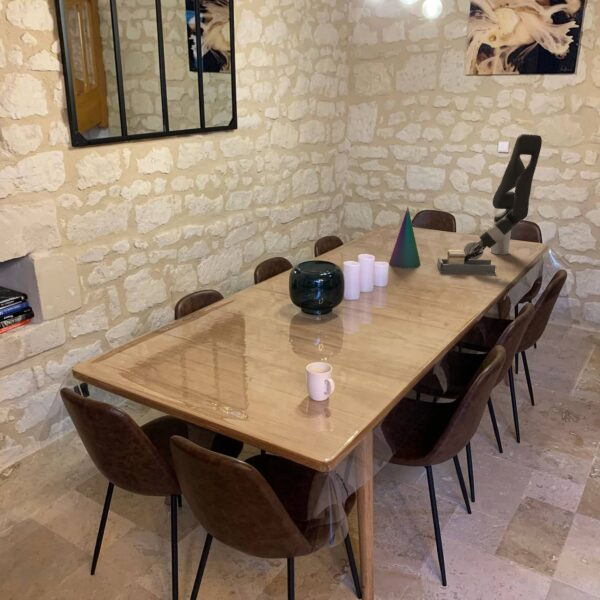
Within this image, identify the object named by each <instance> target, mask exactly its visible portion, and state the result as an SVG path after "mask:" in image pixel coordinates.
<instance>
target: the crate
mask: <svg viewBox="0 0 600 600" xmlns="http://www.w3.org/2000/svg"><path fill="white" fill-rule="evenodd" d="M446 254H447V256H446V259H447V264H464V258H465V253H464V249H447V253H446Z"/></svg>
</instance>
